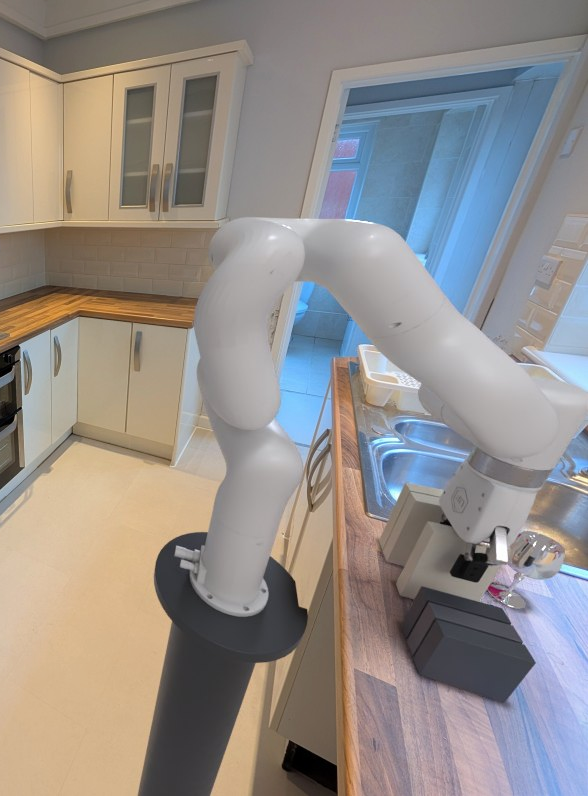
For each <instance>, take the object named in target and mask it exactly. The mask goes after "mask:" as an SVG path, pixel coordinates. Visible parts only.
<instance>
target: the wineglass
mask: <svg viewBox="0 0 588 796" xmlns="http://www.w3.org/2000/svg"><path fill="white" fill-rule="evenodd" d="M510 548H511V550H512V551H511V552H510V554H509V556H508V564H507V566H508V567H509V568H511V569H512V570H513V571H514V572H515V574H514V575H513V581H512V583H511V584H510V585H509V587H505V586H502V585H500V584H490V585H489V587H488V588H487V590H486V591H487V592H488V594H489V595H490V596H491V597H492V598H494V599H495V600H496V601H498V602H500V603H501V604H503V605H505V606H507V607H510V608H513V609H520V610H521V609H524V608H526V601H525V600H524V599H523V598H522V597H521V596H520V594H518V593H516V592H515V591H514V589H515V587H516V586H517V585H519V583H521V582H522V581H523V580H525V577H526V578H529V579H532V580H537V581H538V580H539V581H540V580H543V581H544V580H549V579H552V578H553V577H555V576H556V575H557V574H558V573H559V572H560V570H561V568H562V566H563V564H564V561H565V557H566V556H565V555H566V549H565V547H564V546H563V545H562V544H561V543H560V542H558V541H557V540H556V539H553V538H552V537H550V536H548V535H545V534H543V533H539V532H536V531H532V530H524V531H520V533H519V535H518V536H517V538H516V539H515V541H514V542H513V544H512V545H511V546H510Z"/></svg>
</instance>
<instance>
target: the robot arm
mask: <svg viewBox="0 0 588 796" xmlns="http://www.w3.org/2000/svg"><path fill="white" fill-rule="evenodd" d="M207 250H208V251H207V257H208V262H209V265H210V267H211V269H212V271H213V273H212V274H211V276H210V277H209V278H208V280H207V281H206V282H205V285H204V286H203V289H202V290H201V293H200V294H199V296H198V300H197V302H196V305H195V307H194V308H195V309H194V313H193V330H194V331H193V332H194V335H195V340H196V344H197V349H198V352H199V353H198V354H199V360H198V363H197V365H196V380H197V384H198V387H199V391H200V394H201V397H202V401H203V404H204V408H205V411H206V414H207V417H208V420H209V423H210V427H211V431H212V433H213V436H214V438H215V440H216V443H217V445H218V447H219V449H220V452H221V454H222V457H223V459H224V463H225V467H226V469H225V470H226V471H225V476H224V478H223V480H222V481H221V483H220V484H219V486H218V487H217V490H216V494H215V497H214V501H213V506H212V512H211V515H210V521H209V525H208V529H207V530H208V531H207V532H208V534H207V539H206V543H205V546H203V545H202V546H201V551H199V550H196V549H195V551H191V550H188V549H186V548H183V547H180V546H177V545H176V550H175V557H179V558H182V559H187V560H191V561H193V562H192V563H191V562H189V561H185V560H182V559H181V564H180V567H181V568H184V569H189V570H190V573H189V576H190V581H191V584H192V586H193V588H194V590H195V591H196V593H197V594H198V595H199V596H200V597H201V599H202V600H204V601H205V602H206V603H207V604H208V605H210V606H211V607H213V608H214V609H216V610H218V611H221V612H223V613H226V614H229V615H232V616H238V617H247V616H253V615H255V614H258V613H259V612H261V611H262V610H263V609H264V607H265V606H266V603H267V601H268V595H269V593H268V587H267V585H266V582H265V580H264V579H263V576H264V573H265V570H266V567H267V563H268V560H269V557H270V556H271V553H272V550H273V548H274V544H275V541H276V538H277V534H278V531H279V527H280V524H281V521H282V519H283V515H284V512H285V510H286V508H287V506H288V503H289V502H290V499H291V498H292V496H293V494H294V493H295V491H296V490H297V488H298V487H299V485H300V483H301V482H302V479H303V476H304V461H303V458H302V455H301V453H300V450H299V449H298V446H297V445H296V444H295V442H294V440H293V439H292V438H291V436H290V435H289V433H287V431H286V429H285V428H284V427H283V426H282V425H281V423H280V422H279V421H278V420H277V418H276V417H277V415H278V414H279V411H280V408H281V404H282V391H281V386H280V382H279V379H278V375H277V372H276V368H275V364H274V359H273V355H272V351H271V347H270V340H269V334H268V333H269V332H268V318H269V315H270V313H271V310H272V309H273V307H274V306H275V304H276V303H277V302H278V300H279V299H280V298H281V297H282V296H283V295H284V293H286V292H287V291H288V289H290V288H291V286H292V285H293V284H294V283H295V282H305V283H312V284H315V285H318V286H320V287H322V288H324V289H326V290H327V291H328V292H329V293H330V295H331V296H332V297H333V299H335V300H336V301H337V303H338V304H339V305H340V306H341V307H342V310H344V311H345V312H346V313H347V314H348V316H349V317H350V318H351V319H352V320H353V322H354V323H355V324H356V325H357V326H358V328H359V329H360V331H362V333H363V334H364V335H365V336H366V338H367V339H368V341H369V342H370V343H371V345H373V347H374V348H375V349H376V350H377V351H378V352H379V353H380V354H381V355H383V356H384V357H385V358H386V359H387V360H388V361H389V362H390V363H392V364H393V365H394V366H396V367H397V368H398V369H399V370H400V371H402V372H404V373H405V374H407V375H409V377H411V378H412V379H414V380H415V381H417V382H418V383H420V385H419V388H418V392H417V398H418V402H420V405H421V407H422V408H423V409H424V410H425V411H426V412H427V413H428V414H430V416H432V417H433V418H435V419H436V420H438V421H439V422H440V423H442V424H444V425H445V426H447V427H448V428H449V429H451V430H453V431H454V432H455V433H457V434H458V435H460V436H462V438H464V439H466V440H467V441H469V442H470V443H471V444H472V445H473V447H472V448H471V450H470V452H469V454H468V456H467V457H466V458H465V459H464V460H463V461H462V462H461V464H459V466H458V467H457V469H456V470H455V471H454V473H453V474H452V476H451V478H450V479H449V481H448V482H447V485H446V486H445V488H444V489H443V490H444V491H443V493H442V495H441V497H440V499H439V504H440V507H441V509H442V510H443V512H444V513H443V514H442V515H441V520H442V521H444V522H441V521H440V523H439V524H443V525H447V526H451V527H453V528H454V530H455V531H456V533H457V534H458V535H459V537H460V538H461V539H462V540H463V541H465V542H467V544H466V549H465V553H464V555H463V554H460V555H459V557H458V558H457V560H456V562H455V564H454V565H453V567H452V569H451V571H450V574H451V576H452V577H456V578H459V579H463V580H467V581H471V582H475V583H477V582H479V581H480V579H481V578H482V576H483V574H484V573H485V571H486V570H487V568H488V566H493V565H502V566H508V548H509V547H510V546H511V545H512V544H513V542H514V541H515V539H516V538H517V536H518V535H519V534H520V533H521V532H522V529H523V527H524V525H525V523H526V521H527V519H528V517H529V515H530V513H531V511H532V508H533V505H534V503H535V500H536V497H537V494H538V491H540V490H541V489H543V487H544V485H545V484H546V482H547V480H548V479H549V477H550V476H551V474H552V472H553V471H554V469H555V467H556V466H557V465H558V463H559V461H560V460H561V458H562V457H563V455H564V453H565V451H566V450H567V448H568V447H569V445H570V444H571V442H572V440H573V439H574V438H575V435H576V434H577V433H578V431H579V429H580V428H581V426H582V425H583V423H584V421H585V420H586V418H587V416H588V391H587V390H585V389H583V388H581V387H579V386H577V385H575V384H572V383H569V382H566V381H562V380H558V379H555V378H554V379H553V378H549V377H544V376H531V375H529V373H528V372H527V371H526V370H525V369H524V368H523V367H522V366H521V365H520V364H519V363H517V362H516V360H514V359H513V358H512V357H511V356H510V355H509V354H507V353H506V352H505V350H503V349H502V348H501V347H499V346H498V345H497V344H495V342H494V341H492V340H491V339H490V338H489V337H488V336H487V335H486V334H485V333H484V332H483V331H482V330H480V329H479V327H477V326H476V325H475V324H474V323H473V322H471V321H470V319H468V318H466V317H465V316H464V315H463V314H462V313H460V311H458V309H457V308H456V307H455V306H454V304H453V303H452V302H451V300H450V298H448V297H447V295H446V294H445V293H444V291H443V290H442V288H441V287H440V286H439V285H438V283H437V282H436V280H435V278H433V276H432V275H431V274H430V272H429V271H428V269H426V267H425V265H424V264H423V263H422V262H421V259H419V258H418V256H417V255H416V253H415V252H414V251H413V249H412V248H411V247H410V245H409V244H408V243H407V242H406V240H405V239H404V238H403V237H402V236H401V235H400V233H398V232H397V231H395V230H394V229H393V228H390V227H389V226H387V225H383V224H381V223H375V222H368V221H361V220H353V219H347V218H291V217H290V218H289V217H262V216H261V217H260V216H259V217H257V216H242V217H238V218H234V219H232V220H230V221H228V222H226V223H225V224H223V225H222V226H221V227H219V228H218V229H217V230H216V231H215V233H214V234H213V236H212V238H211V239H210V241H209V245H208V249H207ZM486 538H490V541H489V542H487V541H483V540H485V539H486ZM477 545H479V546H484V547H487V548H486V552H485V554H484V553H475V550H476V546H477Z"/></svg>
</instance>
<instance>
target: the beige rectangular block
mask: <svg viewBox="0 0 588 796" xmlns="http://www.w3.org/2000/svg"><path fill="white" fill-rule="evenodd" d="M444 490H445V489H441V488H436V487H431V486H428V485H427V486H426V485H422V484H416V483H411V482H407V481H405V482H404V484H403V485H402V489H401V491H400V493H399V495H398V498H397V500H396V502H395V504H394V506H393V508H392V510H391V513H390V514H389V517H388V520H387V521H386V524H385V526H384V528H383V531H382V532H381V535H380V537H379V539H378V543H379V546H380V549H381V550H382V554H383V557H384V559H385V562H386V563H389V564H390V563H391V564H394V565H397V566H402V567H405V565H406V563H407V561H408V559H409V557H410V555H411V553H412V551H413V549H414V547H415V545H416V543H417V541H418V539H419V537H420V535H421V533H422V531H423V529H424V527H425V526H426V524H427V522H428V521H429V522H434V523H438V524H439V523H440V521H441V522H444V521H442V520H441V515H442V514H443V513H444V512H443V510H442V509H441V507H440V504H439V499H440V497H441V495H442V493H443V491H444Z"/></svg>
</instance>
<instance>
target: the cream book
mask: <svg viewBox="0 0 588 796" xmlns="http://www.w3.org/2000/svg"><path fill="white" fill-rule="evenodd" d="M483 541H487V542H489V541H490V538H486V539H485V540H483ZM466 544H467V542H465V541H463V540H462V539H461V538H460V537H459V535H458V534H457V533H456V531H455V530H454V528H453V527H451V526H447V525H443V524H438V523H434V522H429V521H428V522H427V524H426V526H425V527H424V529H423V531H422V533H421V535H420V537H419V539H418V541H417V543H416V545H415V547H414V549H413V551H412V553H411V555H410V557H409V559H408V561H407V563H406V565H405V566H403V569H402V571H401V573H400V575H399V577H398V578H397V581H396V583H395V586H396V588H397V591H398V593H399V596H400V597H403V598H406V599H411V600H414V599H415V597H416V595H417V593H418V592H419V590H420V588H421V586H423V587H427V588H430V589H434V590H438V591H441V592H445V593H449V594H452V595H456V596H460V597H463V598H467V599H471V600H474V601H478V602H481V599H482V598H483V596H484V595H485V593H486V592H487V591H488V590H487V588H488V587H489V585H492V584H491V583H493V580H494V579H495V577H496V576H497V574H498V573H499V571H500V570H501V568H502V567H503V565H493V566H488V568H487V570H486V571H485V573H484V574H483V576H482V578H481V579H480V581H479V582H477V583H475V582H471V581H467V580H463V579H459V578H456V577H452V576H451V574H450V571H451V569H452V567H453V565H454V564H455V562H456V560H457V558H458V557H459V555H460V554H463V555H464V553H465V549H466ZM486 548H487V547H484V546H479V545H477V546H476V550H475V553H484V554H485V552H486ZM511 551H512V550H511V548H510V547H509V548H508V556H509V554H510V552H511Z"/></svg>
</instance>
